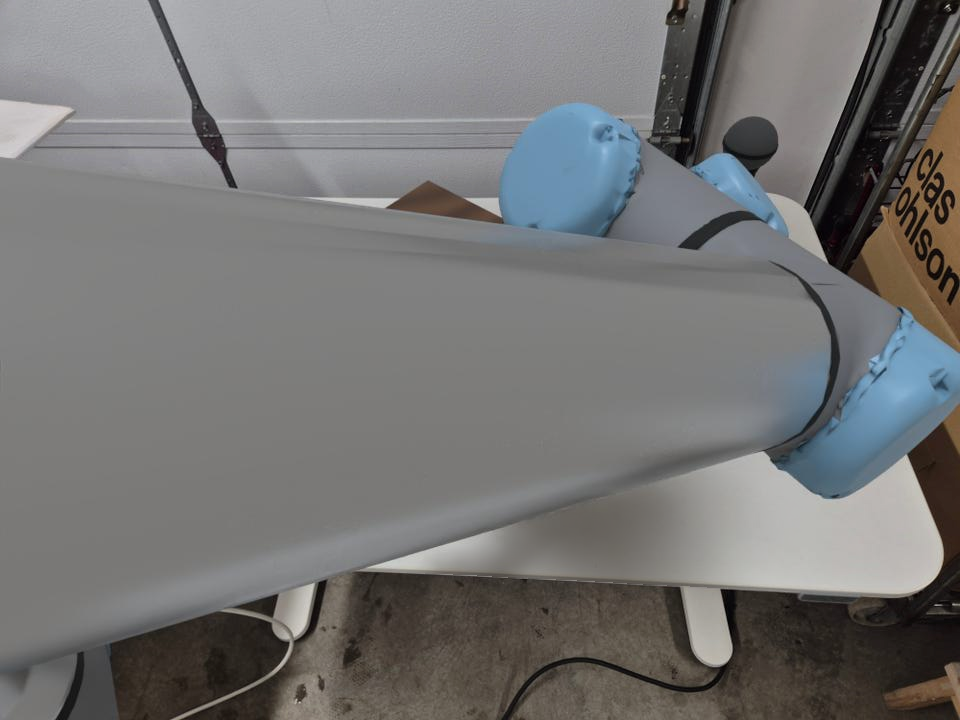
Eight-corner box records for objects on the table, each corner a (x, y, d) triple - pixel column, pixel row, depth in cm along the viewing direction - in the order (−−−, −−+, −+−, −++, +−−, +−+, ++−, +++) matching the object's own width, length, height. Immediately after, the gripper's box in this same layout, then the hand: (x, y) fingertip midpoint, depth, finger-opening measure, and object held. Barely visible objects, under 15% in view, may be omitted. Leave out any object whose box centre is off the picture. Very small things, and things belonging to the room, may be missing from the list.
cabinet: (514, 271, 89) (514, 223, 82) (444, 329, 82) (438, 281, 76) (434, 227, 96) (428, 180, 90) (364, 276, 90) (352, 229, 83)
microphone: (685, 238, 92) (719, 111, 76) (725, 229, 92) (766, 102, 77) (707, 266, 87) (747, 138, 72) (749, 257, 88) (797, 128, 73)
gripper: (666, 485, 42) (466, 582, 54) (554, 224, 55) (410, 349, 66) (605, 479, 37) (398, 588, 49) (496, 192, 50) (351, 333, 61)
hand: (405, 451), depth 57 cm, fingers open, 13 cm apart
